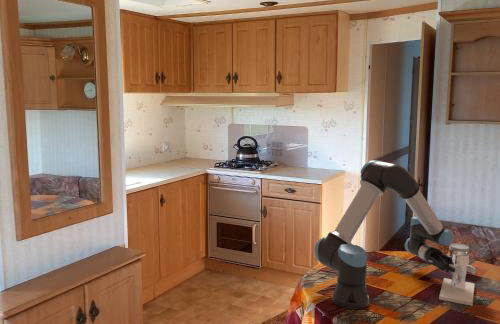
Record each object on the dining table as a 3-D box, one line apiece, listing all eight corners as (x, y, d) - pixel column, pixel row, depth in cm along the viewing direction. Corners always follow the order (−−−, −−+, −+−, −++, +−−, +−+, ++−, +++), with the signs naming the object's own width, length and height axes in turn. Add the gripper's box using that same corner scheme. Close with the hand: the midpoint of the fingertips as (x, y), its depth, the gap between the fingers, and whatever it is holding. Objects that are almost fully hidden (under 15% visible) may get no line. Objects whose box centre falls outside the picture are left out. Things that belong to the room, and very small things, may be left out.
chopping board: (472, 305, 196) (472, 302, 196) (438, 299, 202) (439, 296, 202) (474, 286, 215) (474, 283, 215) (443, 281, 221) (443, 278, 221)
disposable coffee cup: (469, 268, 238) (471, 245, 236) (466, 274, 230) (468, 250, 228) (449, 264, 243) (450, 241, 241) (445, 270, 235) (447, 247, 233)
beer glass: (468, 290, 204) (471, 257, 202) (451, 288, 206) (453, 255, 203) (464, 283, 211) (467, 251, 208) (447, 282, 212) (450, 250, 210)
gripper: (446, 259, 227) (484, 277, 206) (413, 264, 221) (449, 283, 199) (447, 244, 226) (486, 261, 205) (414, 248, 220) (450, 266, 198)
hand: (467, 272), depth 202 cm, fingers closed on beer glass, 6 cm apart
